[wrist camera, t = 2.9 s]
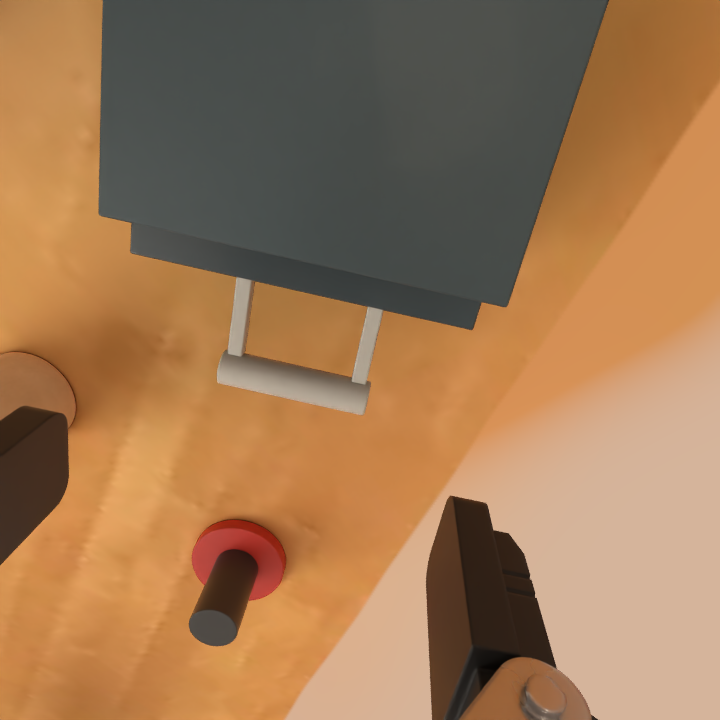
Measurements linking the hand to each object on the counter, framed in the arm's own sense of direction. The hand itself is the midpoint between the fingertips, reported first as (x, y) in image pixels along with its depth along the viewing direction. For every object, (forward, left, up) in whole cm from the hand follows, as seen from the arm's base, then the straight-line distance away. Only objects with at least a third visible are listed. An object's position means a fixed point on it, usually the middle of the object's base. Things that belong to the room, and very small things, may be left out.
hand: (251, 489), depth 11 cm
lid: (-3, -18, -16) cm, 25 cm away
